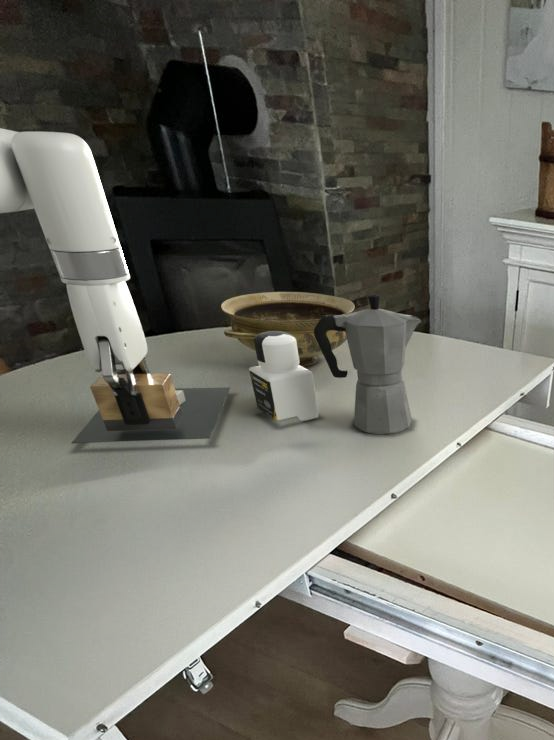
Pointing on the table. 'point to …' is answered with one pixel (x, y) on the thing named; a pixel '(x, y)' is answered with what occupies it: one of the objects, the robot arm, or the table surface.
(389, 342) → the coffeepot
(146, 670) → the table surface
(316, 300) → the ceramic bowl
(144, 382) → the eraser
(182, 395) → the chalk lump
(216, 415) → the slate board
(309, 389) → the medicine bottle
